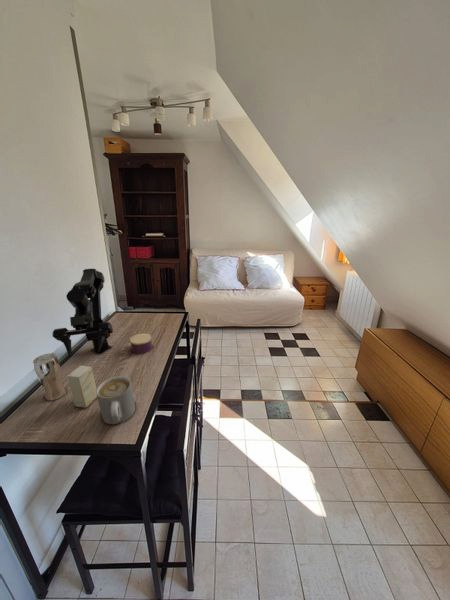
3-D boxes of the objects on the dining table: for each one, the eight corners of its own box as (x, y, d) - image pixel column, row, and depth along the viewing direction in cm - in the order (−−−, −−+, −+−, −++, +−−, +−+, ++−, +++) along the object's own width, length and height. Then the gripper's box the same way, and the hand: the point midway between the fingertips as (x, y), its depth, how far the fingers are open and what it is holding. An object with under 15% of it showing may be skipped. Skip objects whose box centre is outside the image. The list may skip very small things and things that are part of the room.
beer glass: (51, 388, 92) (40, 353, 87) (70, 387, 92) (61, 352, 87) (39, 402, 85) (27, 365, 80) (60, 400, 86) (49, 363, 81)
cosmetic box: (86, 408, 82) (78, 377, 78) (74, 406, 83) (66, 376, 79) (98, 395, 88) (92, 366, 84) (87, 393, 89) (80, 364, 85)
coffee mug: (107, 402, 85) (102, 378, 81) (137, 399, 86) (133, 375, 83) (93, 435, 72) (86, 408, 69) (129, 431, 74) (124, 404, 70)
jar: (127, 350, 116) (125, 340, 114) (142, 341, 123) (140, 331, 121) (142, 355, 111) (140, 345, 110) (156, 346, 119) (155, 335, 117)
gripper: (46, 308, 85) (44, 353, 79) (106, 301, 90) (108, 343, 84) (59, 320, 95) (57, 360, 89) (112, 313, 100) (114, 351, 94)
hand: (84, 353), depth 89 cm, fingers open, 9 cm apart
